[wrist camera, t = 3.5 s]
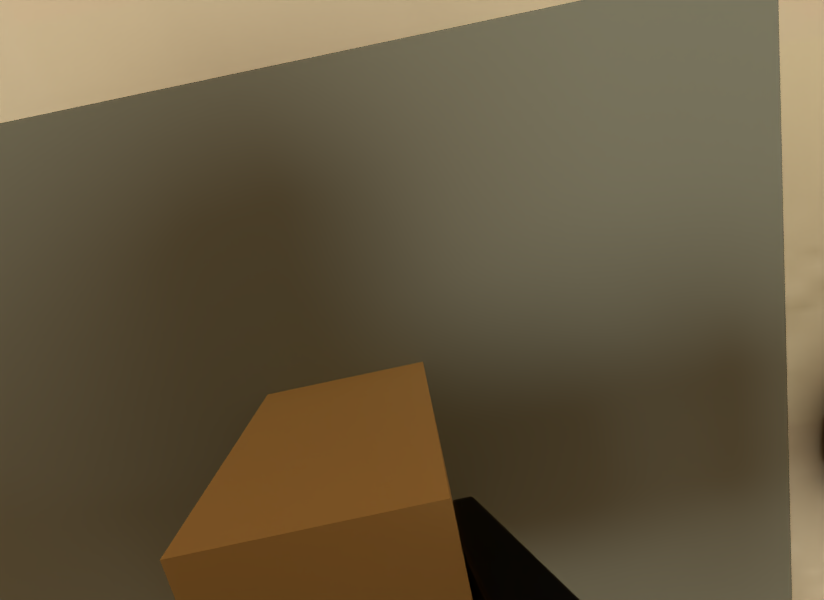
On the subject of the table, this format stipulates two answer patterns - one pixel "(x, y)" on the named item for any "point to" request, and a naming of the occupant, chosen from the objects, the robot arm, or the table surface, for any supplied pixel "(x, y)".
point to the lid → (407, 318)
